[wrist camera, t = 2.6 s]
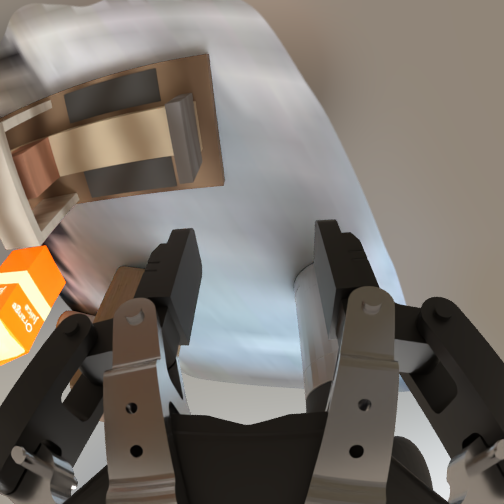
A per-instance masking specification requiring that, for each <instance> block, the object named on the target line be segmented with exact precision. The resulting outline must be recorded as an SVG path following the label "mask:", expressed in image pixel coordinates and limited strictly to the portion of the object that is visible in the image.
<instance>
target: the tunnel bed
mask: <svg viewBox="0 0 504 504" xmlns="http://www.w3.org/2000/svg"><path fill="white" fill-rule="evenodd" d="M186 93H192V96H193V101H196V108H197V115H198V122H199V128H200V135H201V141H202V148H203V149H202V151H201V155H202V161H203V162H202V164H201V166H200V169H199V171H198V173H197V175H196V178H195V180H194V182H193V183H185V184H180V183H179V178H178V173H177V169H176V164H175V158H174V156H167V157H160V158H153V159H147V160H141V161H135V162H129V163H123V164H118V165H112V166H107V167H102V168H97V169H92V170H87V171H83V172H78V173H74V174H69V175H65V176H61V177H59V178H58V179H57V180H56V181H55V182H54V183H52V184H51V185H50V186H49V187H48V188H47V189H46V190H45V191H44V192H43V193H42V194H41V195H39V196H38V197H37V198H33V199H29V200H27V197H26V195H25V192H24V189H23V187H22V184H21V181H20V178H19V176H18V173H17V170H16V167H15V164H14V161H13V158H12V154H11V151H10V150H11V149H14V148H16V147H19V146H21V145H24V144H27V143H29V142H32V141H35V140H37V139H40V138H43V137H46V136H49V135H52V134H55V133H58V132H61V131H64V130H67V129H71V128H74V127H77V126H81V125H84V124H88V123H91V122H95V121H99V120H103V119H107V118H111V117H115V116H119V115H123V114H127V113H132V112H136V111H141V110H146V109H151V108H156V107H162V106H165V104H166V103H167V102H169V101H170V100H172V99H173V98H175V97H176V96H178V95H180V94H186ZM224 182H225V177H224V170H223V162H222V155H221V147H220V140H219V132H218V124H217V117H216V109H215V101H214V93H213V85H212V77H211V69H210V60H209V54H204V55H197V56H191V57H185V58H179V59H174V60H169V61H164V62H159V63H155V64H150V65H146V66H142V67H138V68H134V69H130V70H126V71H122V72H119V73H115V74H112V75H108V76H105V77H102V78H98V79H95V80H92V81H89V82H86V83H83V84H80V85H77V86H74V87H72V88H69V89H66V90H64V91H61V92H58V93H56V94H53V95H51V96H48V97H46V98H43V99H41V100H39V101H36V102H34V103H32V104H30V105H27V106H25V107H23V108H21V109H19V110H17V111H14V112H12V113H10V114H8V115H6V116H4V117H2V118H0V239H1V241H2V243H3V245H4V247H5V249H6V250H9V249H18V248H26V247H36V246H41V245H42V243H43V242H44V241H45V240H46V238H47V237H48V236H49V235H50V233H51V232H52V231H53V230H54V228H55V227H56V226H57V225H58V224H59V223H60V221H61V220H62V219H63V218H64V217H65V216H66V214H67V213H68V212H69V211H70V210H71V209H72V208H73V206H74V205H75V204H80V203H86V202H92V201H99V200H105V199H112V198H119V197H126V196H133V195H141V194H149V193H157V192H165V191H174V190H183V189H193V188H203V187H214V186H224Z"/></svg>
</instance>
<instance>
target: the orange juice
mask: <svg viewBox="0 0 504 504" xmlns="http://www.w3.org/2000/svg"><path fill="white" fill-rule="evenodd" d="M65 283H66V282H65V280H64V278H63V276H62V275H61V273H60V271H59V269H58V267H57V266H56V264H55V262H54V260H53V258H52V256H51V254H50V252H49V251H48V249H47V247H46V245H45V246H38V247H32V248H26V249H20V250H14V251H12V252H11V254H10V255H9V256H8V257H7V259H6V260H5V261H4V262H3V264H2V265H1V266H0V366H1V365H3V364H5V363H7V362H9V361H12V360H14V359H16V358H18V357H20V356H22V355H25V354H27V353H29V350H30V348H31V346H32V344H33V342H34V340H35V338H36V336H37V334H38V332H39V330H40V328H41V326H42V324H43V322H44V321H45V319H46V317H47V316H48V314H49V312H50V310H51V307H52V306H53V304H54V302H55V300H56V299H57V297H58V295H59V293H60V292H61V290H62V288H63V286H64V285H65Z"/></svg>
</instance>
